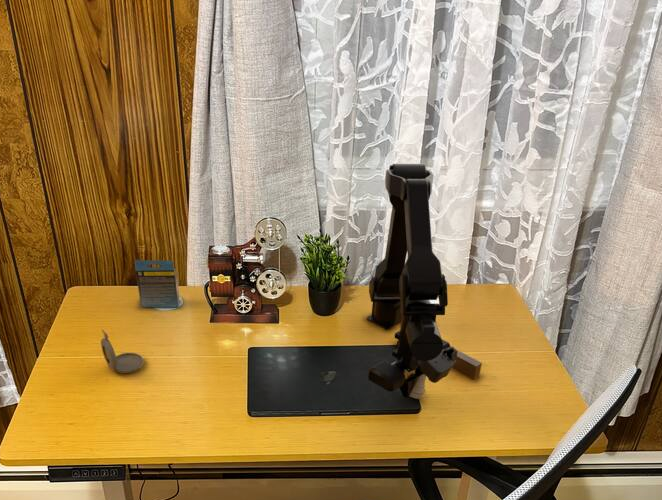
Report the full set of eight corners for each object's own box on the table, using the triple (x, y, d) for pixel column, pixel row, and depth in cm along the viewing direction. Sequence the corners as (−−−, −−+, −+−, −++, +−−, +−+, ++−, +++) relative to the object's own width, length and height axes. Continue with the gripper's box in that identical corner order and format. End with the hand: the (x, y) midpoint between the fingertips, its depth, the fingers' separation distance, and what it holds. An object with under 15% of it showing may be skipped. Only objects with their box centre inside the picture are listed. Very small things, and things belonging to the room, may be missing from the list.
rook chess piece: (419, 401, 151) (433, 364, 147) (399, 392, 152) (412, 356, 149) (426, 397, 154) (439, 361, 151) (406, 388, 156) (419, 352, 153)
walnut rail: (400, 340, 169) (402, 327, 167) (406, 337, 170) (408, 324, 168) (473, 380, 159) (476, 366, 157) (479, 376, 160) (482, 362, 158)
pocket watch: (150, 361, 161) (144, 321, 154) (126, 382, 155) (119, 342, 148) (118, 351, 163) (111, 311, 156) (94, 372, 157) (85, 331, 151)
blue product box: (180, 299, 180) (175, 252, 172) (178, 308, 177) (173, 260, 169) (142, 299, 179) (135, 252, 171) (140, 308, 176) (133, 260, 168)
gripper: (417, 367, 132) (406, 435, 142) (480, 329, 142) (465, 395, 152) (370, 341, 138) (363, 408, 148) (433, 306, 148) (423, 371, 158)
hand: (405, 396), depth 151 cm, fingers closed
